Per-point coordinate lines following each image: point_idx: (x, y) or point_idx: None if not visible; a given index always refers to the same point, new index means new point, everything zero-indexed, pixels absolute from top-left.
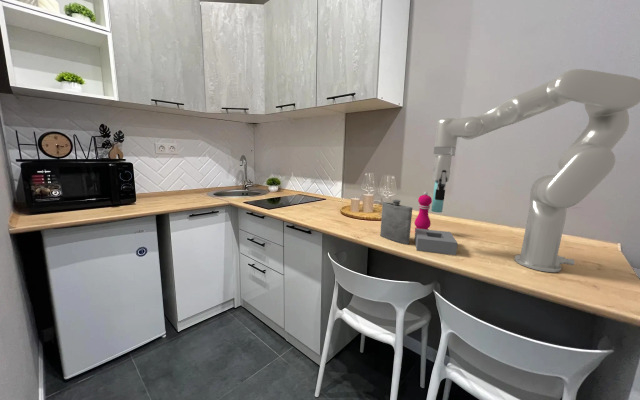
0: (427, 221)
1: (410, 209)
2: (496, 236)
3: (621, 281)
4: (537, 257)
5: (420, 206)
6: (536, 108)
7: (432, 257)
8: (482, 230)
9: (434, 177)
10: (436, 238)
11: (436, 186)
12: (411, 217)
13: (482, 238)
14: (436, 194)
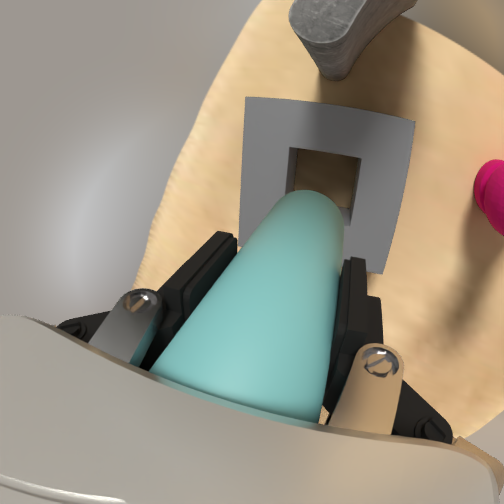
0: (498, 218)
1: (293, 29)
2: (433, 401)
3: None
4: None
5: None
6: None
7: (212, 144)
8: (482, 390)
9: (4, 368)
10: (270, 179)
11: (182, 327)
12: (318, 57)
13: (424, 368)
14: (194, 261)
